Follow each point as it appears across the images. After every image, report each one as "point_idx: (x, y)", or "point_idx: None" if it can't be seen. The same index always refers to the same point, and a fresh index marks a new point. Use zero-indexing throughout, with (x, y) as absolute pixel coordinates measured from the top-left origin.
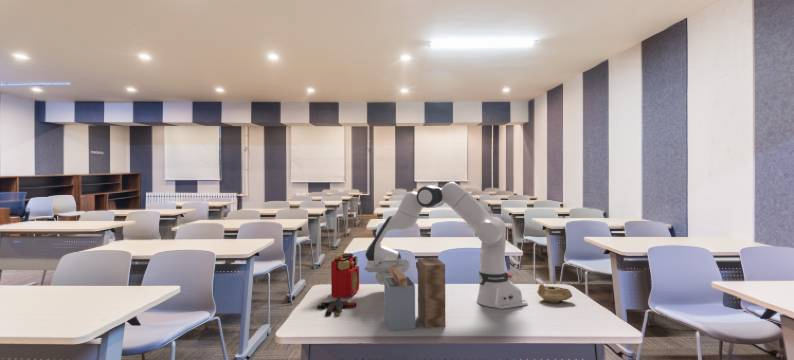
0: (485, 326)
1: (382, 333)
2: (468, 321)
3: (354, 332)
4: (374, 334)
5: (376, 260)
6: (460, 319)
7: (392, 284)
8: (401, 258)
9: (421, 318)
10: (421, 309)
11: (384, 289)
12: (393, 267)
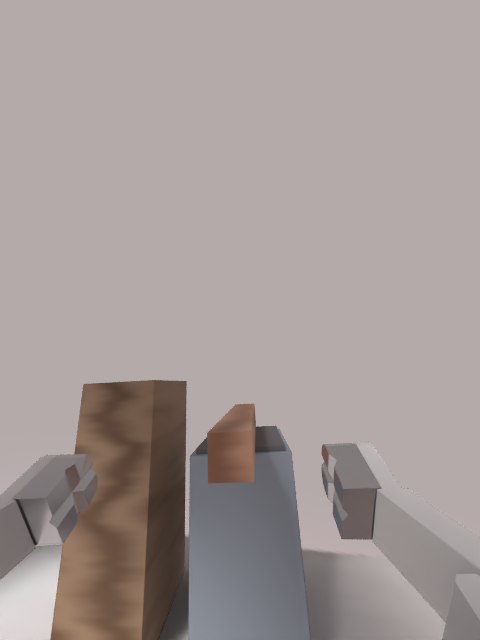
0: (36, 557)
1: (311, 559)
2: (25, 593)
3: (402, 576)
4: (333, 557)
5: (433, 507)
6: (22, 615)
7: (269, 426)
8: (51, 456)
9: (167, 599)
10: (168, 556)
11: (296, 505)
12: (241, 421)
